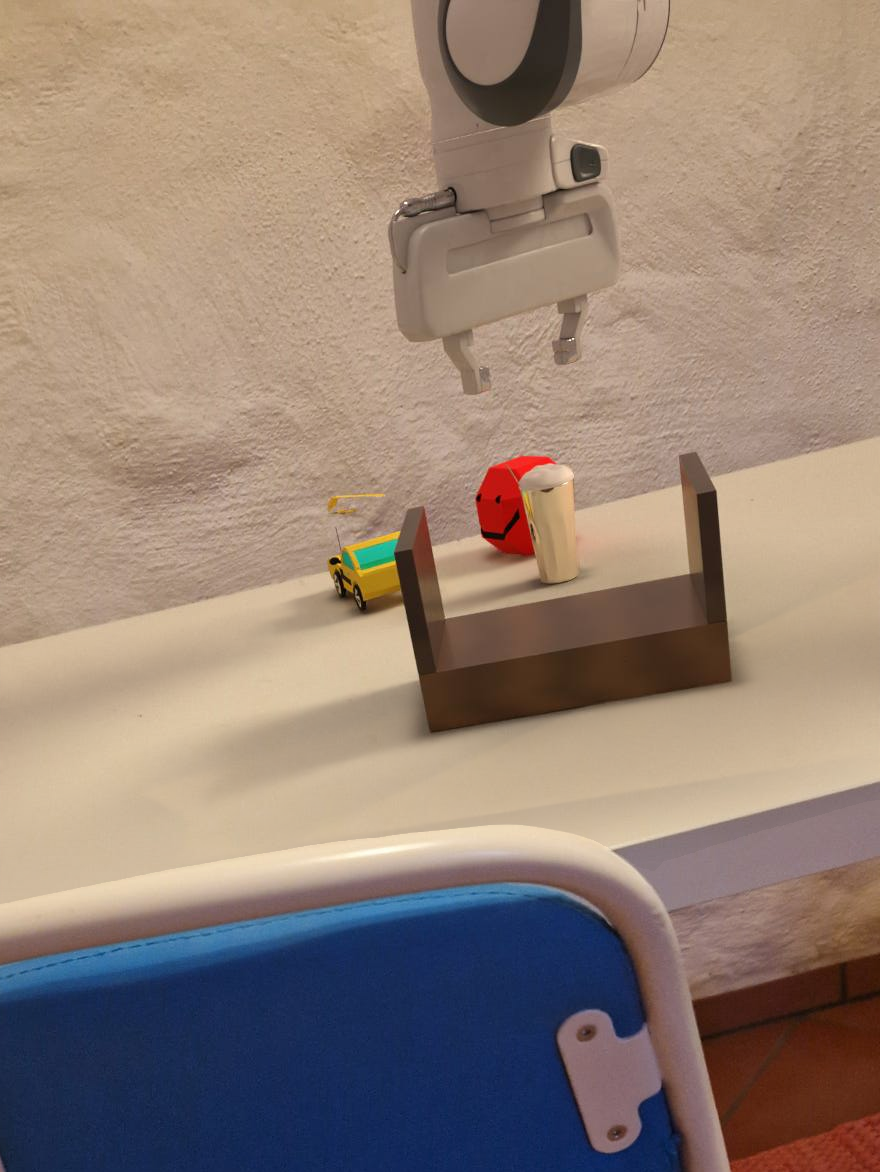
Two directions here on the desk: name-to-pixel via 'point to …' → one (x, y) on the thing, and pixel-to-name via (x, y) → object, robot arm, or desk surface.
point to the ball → (506, 506)
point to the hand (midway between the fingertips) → (524, 377)
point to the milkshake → (551, 520)
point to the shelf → (570, 631)
